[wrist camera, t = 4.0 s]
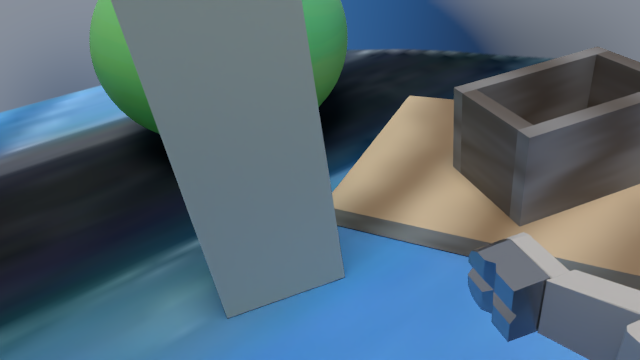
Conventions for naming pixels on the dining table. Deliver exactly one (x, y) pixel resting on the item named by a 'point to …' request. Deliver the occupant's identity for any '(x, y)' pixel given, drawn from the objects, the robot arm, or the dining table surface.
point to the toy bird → (126, 87)
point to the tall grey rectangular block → (241, 139)
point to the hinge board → (461, 212)
